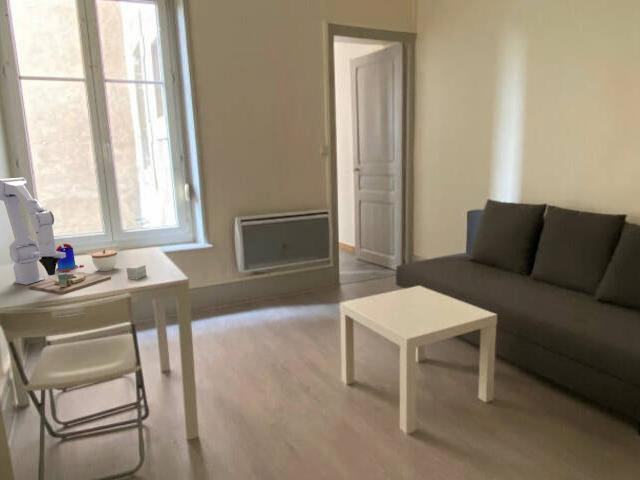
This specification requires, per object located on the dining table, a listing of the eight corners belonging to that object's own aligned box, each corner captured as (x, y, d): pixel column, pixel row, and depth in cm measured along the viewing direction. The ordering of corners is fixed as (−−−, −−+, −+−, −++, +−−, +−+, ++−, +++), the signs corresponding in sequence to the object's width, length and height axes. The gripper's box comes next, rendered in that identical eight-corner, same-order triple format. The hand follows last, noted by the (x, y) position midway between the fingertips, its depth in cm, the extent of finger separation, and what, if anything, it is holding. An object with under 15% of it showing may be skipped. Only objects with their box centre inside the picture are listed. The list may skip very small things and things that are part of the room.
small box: (137, 274, 200) (135, 264, 199) (147, 275, 198) (145, 264, 197) (127, 278, 195) (125, 267, 194) (137, 279, 193) (136, 268, 192)
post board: (28, 287, 187) (26, 278, 186) (78, 273, 206) (76, 265, 205) (62, 294, 177) (60, 284, 176) (111, 278, 196) (109, 269, 195)
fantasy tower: (65, 272, 208) (61, 247, 206) (46, 271, 212) (42, 246, 210) (86, 266, 219) (83, 241, 217) (68, 264, 223) (64, 240, 221)
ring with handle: (60, 277, 195) (58, 266, 194) (88, 275, 197) (86, 264, 196) (47, 288, 181) (45, 276, 180) (77, 285, 183) (75, 273, 182)
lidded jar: (88, 271, 209) (85, 251, 207) (107, 265, 219) (104, 246, 217) (106, 273, 205) (103, 252, 203) (124, 267, 215) (121, 247, 213)
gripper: (22, 243, 179) (28, 277, 182) (53, 244, 175) (59, 278, 178) (37, 239, 185) (42, 272, 188) (67, 240, 182) (72, 273, 185)
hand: (51, 274), depth 184 cm, fingers closed
